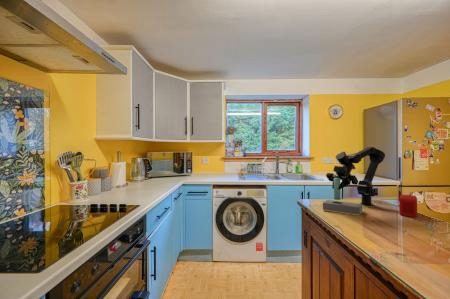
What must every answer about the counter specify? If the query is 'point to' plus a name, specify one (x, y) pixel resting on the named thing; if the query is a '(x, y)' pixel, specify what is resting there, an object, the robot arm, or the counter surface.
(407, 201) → the decorative item
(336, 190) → the peg
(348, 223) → the counter surface
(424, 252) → the counter surface
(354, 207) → the socket block
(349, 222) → the counter surface
